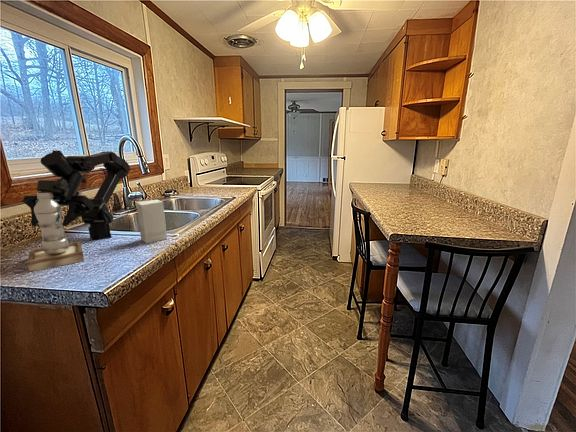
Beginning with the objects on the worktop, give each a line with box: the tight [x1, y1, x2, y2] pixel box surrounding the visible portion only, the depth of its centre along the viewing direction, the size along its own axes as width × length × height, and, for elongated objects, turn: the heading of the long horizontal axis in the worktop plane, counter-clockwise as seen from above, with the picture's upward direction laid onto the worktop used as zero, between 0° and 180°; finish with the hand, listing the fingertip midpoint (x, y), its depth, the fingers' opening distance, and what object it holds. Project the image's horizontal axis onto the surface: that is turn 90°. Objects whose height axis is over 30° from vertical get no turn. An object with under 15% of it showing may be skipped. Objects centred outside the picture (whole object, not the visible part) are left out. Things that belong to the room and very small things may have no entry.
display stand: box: [26, 241, 85, 272], centre depth 88 cm, size 13×13×3 cm
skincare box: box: [135, 199, 168, 244], centre depth 106 cm, size 8×7×16 cm
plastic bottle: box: [34, 191, 70, 254], centre depth 86 cm, size 6×7×20 cm
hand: (48, 225), depth 85 cm, fingers open, 9 cm apart
